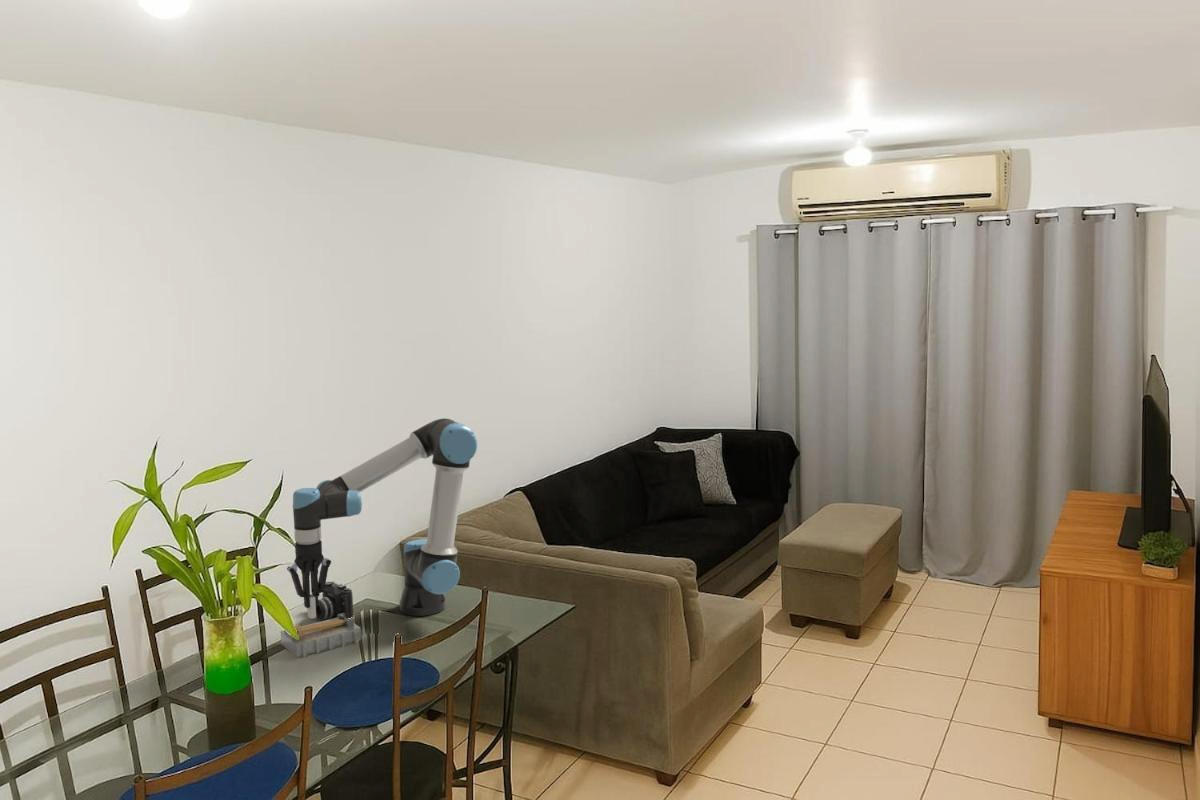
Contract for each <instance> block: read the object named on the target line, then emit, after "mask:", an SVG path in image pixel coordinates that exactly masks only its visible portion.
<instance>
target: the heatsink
mask: <svg viewBox="0 0 1200 800" xmlns="http://www.w3.org/2000/svg"><path fill="white" fill-rule="evenodd" d="M342 617H345V614H344V613H341V614H338V616H336V617H332V618H328V619H326V620H325V619H324V620H322V621H321V620H320V621H317V622H313V623H310V624H306V625H304V626H308V625H313V624H318V623H323V622H328V621H333V620H338V619H341V618H342ZM345 618H346V617H345ZM346 619H347V618H346ZM354 622H355V621H354V619H353V618H351V619H348V620H346V623H345V625H340V626H335V627H330V628H325V629H320V630H315V631H310V632H305V634H302V635H299V640H296V639H294V638H293V637H291V636H290V635H289V634H288V633H287V632H286V631H285V630H284V629H283V630H281V631H280V644H281V645H282V647H284V648H285V649H286V651H287V650H288V651H289V652H290V653H291V654H292V655H293V656H294V657H296V658H300V657H303V658H305V657H307V656H308V655H311V654H310V653H312V654H314V653H315V652H316V654H320V652H322V651H323V652H324V651H326V650H328V651H331V650H333V649H334V648H337V647H345V646H346V645H349V644H352V643H354V644H357V643H358V642H359V641H362V633H361V632H362V630H361V626H359V625H357V624H356V623H354ZM302 626H303V625H302ZM302 626H300V627H302ZM307 654H308V655H307Z"/></svg>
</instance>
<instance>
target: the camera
mask: <svg viewBox="0 0 1200 800" xmlns="http://www.w3.org/2000/svg"><path fill="white" fill-rule="evenodd" d="M321 595H322V597H321V598H318V605H317V606H316V618H315V619H316V620H320V621H321V620H322V621H324V620H325V619H326V620H329V619H332V618H334V617H338V614H341V613H344V614H345V617H346V618H347V619H348V618H351V617H353V618H354V598H353V597H354V596H353V592H352V589H350V588H349V587H347V586H346V584H343V583H340V584H338V583H336V582H335V580H333V581H326V583H325V589H324V592H322V594H321ZM351 619H352V618H351Z"/></svg>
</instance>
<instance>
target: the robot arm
mask: <svg viewBox="0 0 1200 800" xmlns="http://www.w3.org/2000/svg"><path fill="white" fill-rule="evenodd" d="M477 449H478V440H477V437H476V435H475V433H474V432H473V431H472V430H471V429H470V428H469V427H468V426H466V425H465V424H462V423H460V422H457V421H455V420H453V419H450V418H445V417H444V418H439V419H435V420H433V421H431V422H429V423H427V424H425V425H422V426H421V427H419V428H417V429H416V430H413V431H411V432H410V435H409V437H408V438H406V439H404V440H402V441H400V442H399V443H398V444H396V445H394V446H392V447H390V448H388V449H387V450H386V449H385V451H383V452H381V453H379V454H377V455H376V456H374V457H371V459H368V460H367V461H365V462H363V463H361V464H359V465H357V466H356V467H354V468H352V469H350V470H349V471H346V472H345V473H343V474H341V475H339V476H338V477H336V478H333V479H332V480H331V479H330V480H329V479H327V480H326V479H325V480H322V481H321V482H320V483H318V484H317V486H316V487H305V488H302V487H301V488H298V489H296V490H295V491H294V492H293V494H292V508H293V509H292V512H293V524H294V525H293V527H294V528H293V529H294V541H295V543H294V547H295V548H294V549H295V550H294V552H295V558H294V562H293V564H291V566H287V568H286V570H287V572H289V574H290V575H291V579H292V582H293V585H294V589H295V591H296V594H297V596H299V597H300V598H303V606H304V607H305V608H306V609H307V617H308V618H309V619H310V620H311V619H317V618H316V606H317V605H318V600H319V596H320V595H321V593H323V592H324V589H325V583H326V582H327V577H328V572H329V568H330V566H331V564H332V561H331V559H329V558H325V557H324V555H323V553H322V552H323V547H322V546H323V544H322V543H323V542H322V527H321V525H322V524H321V521H323V520H329V519H338V518H345V517H348V518H349V517H353V516H358V515H360V513H361V512H362V506H363V502H362V496H361V494H360V493H361V492H363V491H365V490H366V489H368V488H369V487H372V486H373V485H375V484H377V483H379V482H381V481H382V480H384V479H386V478H388V477H389V476H392V475H393V474H395V473H396V472H398V471H400V470H403V468H406V467H407V466H409V465H411V464H413V463H414V462H416V461H417V460H420V459H424V460H426V459H428V458H430V457H432V462H431V464H432V465H433V467H435V475H434V483H433V490H432V491H433V493H432V498H431V507H430V514H429V523H428V527H427V528H428V529H427V537H426V538H422V539H421V538H420V539H413V540H410V541H407V542H406V543H405V544H404V545H403V546H404V547H403V564H404V565H403V569H404V571H403V572H404V574H403V575H404V579H403V580H404V585H403V586H404V587H403V589H402V593H401V596H400V597H401V598H400V600H399V611H400V612H401V613H403V614H405V615H409V616H415V617H419V616H420V617H421V616H431V615H435V614H439V613H441V612H442V611H445V609H446V606H447V605H446V603H447V600H446V597H445V594H446V593H449V592H450V591H452V590H453V589H454V588H455V587H456V586H457V585H458V583H459V581H460V576H461V575H460V574H461V572H460V568H459V566H458V565H457V562H458V561H457V558H458V549H457V547H456V546H455V536H456V530H457V522H458V517H459V516H458V514H459V508H460V507H459V506H460V500H461V493H462V485H463V477H464V472H466V471H467V470H468V469H469V468H470V463H471V462H470V461H471V459H472V458H473V457H474V456H475V454H476V453H477ZM320 566H321V567H320ZM319 568H320V571H319ZM298 569H299V570H300V571H301V572H300V573H301V579H302V580H301V581H302V584H301V581H300V577H299V576H300V575H299V574H298ZM318 574H319V575H318Z"/></svg>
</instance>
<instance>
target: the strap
mask: <svg viewBox="0 0 1200 800" xmlns="http://www.w3.org/2000/svg"><path fill="white" fill-rule="evenodd" d="M346 620H348V619H346V618H345V617H342V618H341V619H338V620H333V621H328V622H323V623H318V624H313V623H312V624H313V625H309V624H307V625H308V626H305V625H302V627H301V626H300V625H299V624H295V628H296V630H297V633H298V635H302V634H305V632H310V631H315V630H320V629H325V628H330V627H335V626H340V625H345V623H346Z"/></svg>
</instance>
